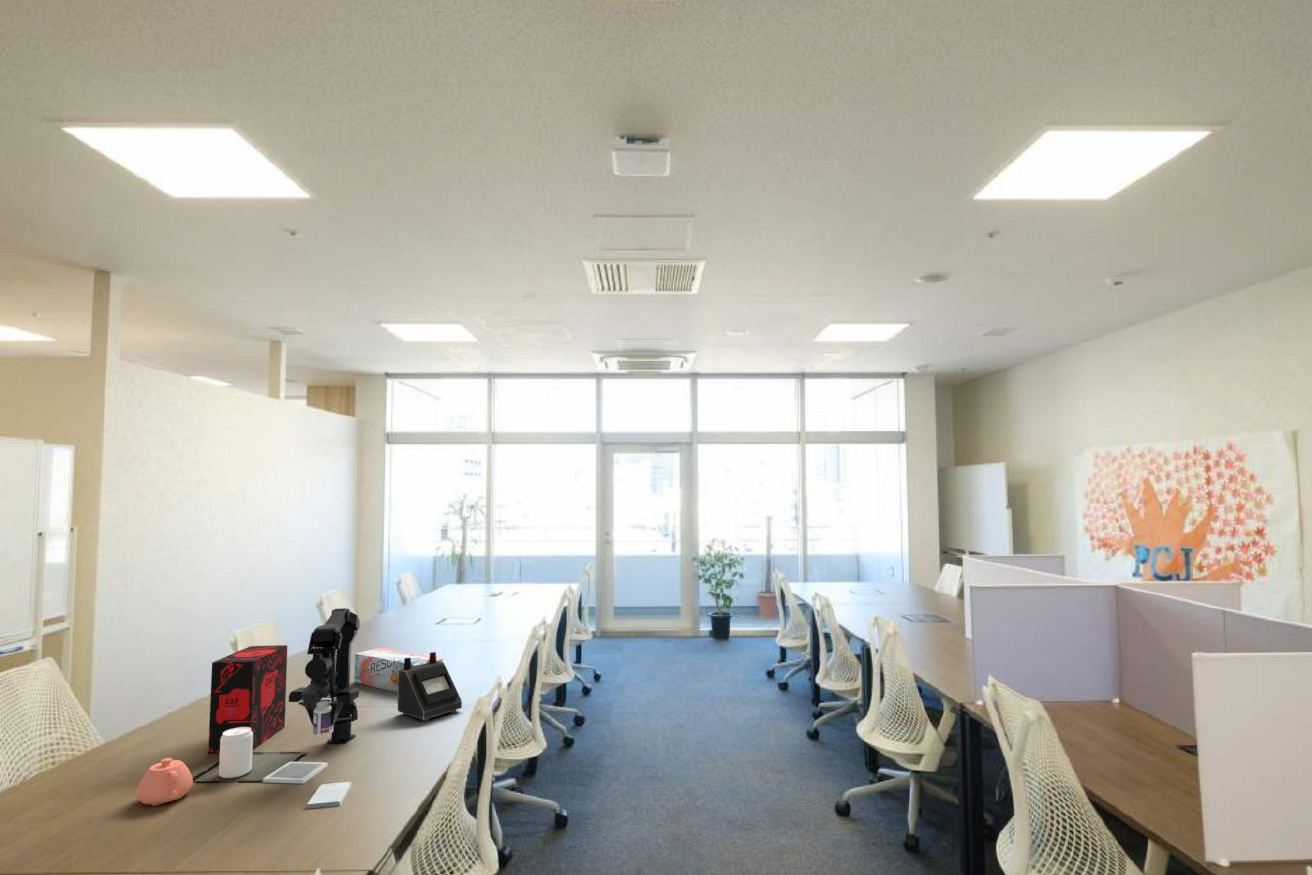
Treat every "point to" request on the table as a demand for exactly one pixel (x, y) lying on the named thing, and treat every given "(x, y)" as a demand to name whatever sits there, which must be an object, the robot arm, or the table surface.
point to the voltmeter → (426, 690)
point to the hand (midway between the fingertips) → (323, 724)
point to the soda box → (384, 667)
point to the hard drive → (329, 795)
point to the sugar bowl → (164, 782)
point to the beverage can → (236, 752)
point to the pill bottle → (322, 718)
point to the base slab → (295, 772)
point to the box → (248, 694)
